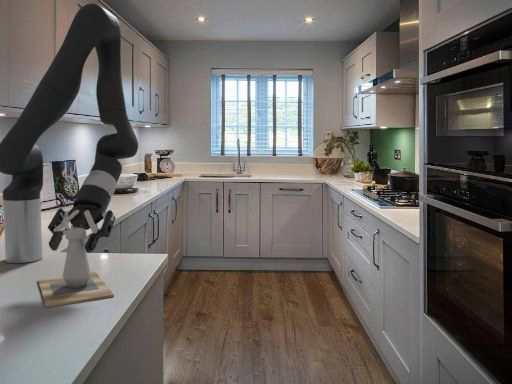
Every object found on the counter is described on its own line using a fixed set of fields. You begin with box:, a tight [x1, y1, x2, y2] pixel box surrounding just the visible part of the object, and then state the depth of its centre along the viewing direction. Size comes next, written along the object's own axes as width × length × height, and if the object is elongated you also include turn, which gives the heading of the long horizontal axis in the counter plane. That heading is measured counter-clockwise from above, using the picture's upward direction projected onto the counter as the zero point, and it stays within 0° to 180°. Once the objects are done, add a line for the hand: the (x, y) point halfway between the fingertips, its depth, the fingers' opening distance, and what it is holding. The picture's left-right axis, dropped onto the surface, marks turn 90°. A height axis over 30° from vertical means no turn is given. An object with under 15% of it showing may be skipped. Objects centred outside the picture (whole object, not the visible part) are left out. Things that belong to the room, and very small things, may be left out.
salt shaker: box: [62, 228, 92, 288], centre depth 98 cm, size 6×6×13 cm
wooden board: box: [37, 271, 115, 308], centre depth 98 cm, size 20×13×1 cm, turn 31°
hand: (70, 249), depth 96 cm, fingers open, 8 cm apart
